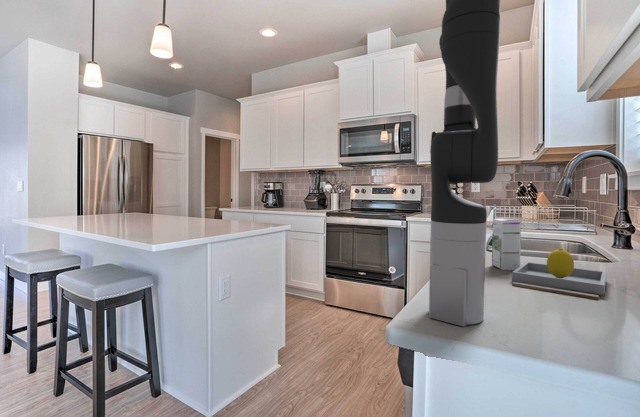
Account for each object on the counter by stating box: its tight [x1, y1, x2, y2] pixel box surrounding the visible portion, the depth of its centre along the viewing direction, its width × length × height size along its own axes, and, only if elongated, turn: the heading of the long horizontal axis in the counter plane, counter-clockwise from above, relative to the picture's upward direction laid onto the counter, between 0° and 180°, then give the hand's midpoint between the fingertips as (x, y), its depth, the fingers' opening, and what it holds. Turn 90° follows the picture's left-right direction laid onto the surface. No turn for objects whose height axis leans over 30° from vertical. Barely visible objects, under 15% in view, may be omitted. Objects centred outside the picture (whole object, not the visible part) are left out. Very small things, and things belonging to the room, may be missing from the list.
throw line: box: [511, 282, 600, 301], centre depth 77 cm, size 2×16×1 cm, turn 49°
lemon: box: [546, 247, 575, 279], centre depth 85 cm, size 6×6×8 cm
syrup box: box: [491, 217, 522, 271], centre depth 100 cm, size 6×6×14 cm
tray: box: [511, 261, 608, 297], centre depth 85 cm, size 16×18×2 cm
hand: (458, 170), depth 88 cm, fingers open, 8 cm apart
